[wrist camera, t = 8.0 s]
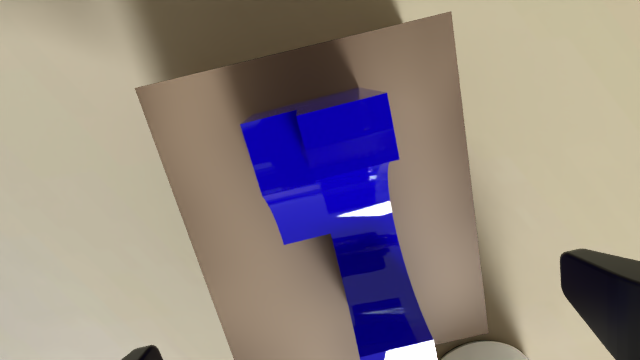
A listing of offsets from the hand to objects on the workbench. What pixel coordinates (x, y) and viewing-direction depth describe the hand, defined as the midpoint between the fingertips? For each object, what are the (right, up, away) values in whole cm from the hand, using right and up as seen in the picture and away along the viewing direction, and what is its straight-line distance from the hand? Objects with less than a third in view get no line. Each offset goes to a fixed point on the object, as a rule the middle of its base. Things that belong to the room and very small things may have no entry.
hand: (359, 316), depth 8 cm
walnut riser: (-1, +3, +10) cm, 10 cm away
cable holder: (0, +2, +5) cm, 5 cm away
